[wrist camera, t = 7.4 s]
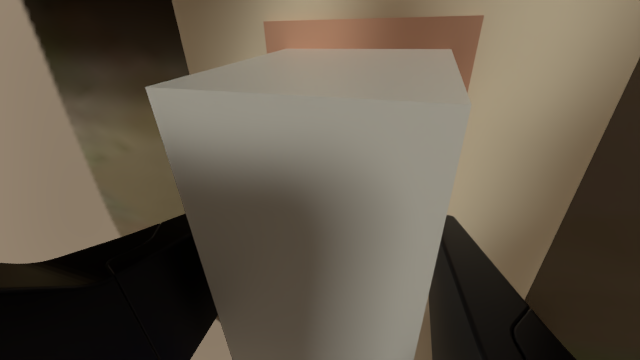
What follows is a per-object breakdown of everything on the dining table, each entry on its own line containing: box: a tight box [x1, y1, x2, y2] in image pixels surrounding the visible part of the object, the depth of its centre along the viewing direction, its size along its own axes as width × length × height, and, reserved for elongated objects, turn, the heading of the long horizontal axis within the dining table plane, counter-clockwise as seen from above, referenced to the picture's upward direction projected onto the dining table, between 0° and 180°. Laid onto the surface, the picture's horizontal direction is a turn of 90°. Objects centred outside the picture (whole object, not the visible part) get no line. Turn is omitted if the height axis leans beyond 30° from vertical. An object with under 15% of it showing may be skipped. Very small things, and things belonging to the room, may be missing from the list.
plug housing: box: [145, 49, 471, 360], centre depth 8 cm, size 4×9×5 cm, turn 2°
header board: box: [172, 0, 640, 360], centre depth 10 cm, size 12×18×5 cm, turn 2°
